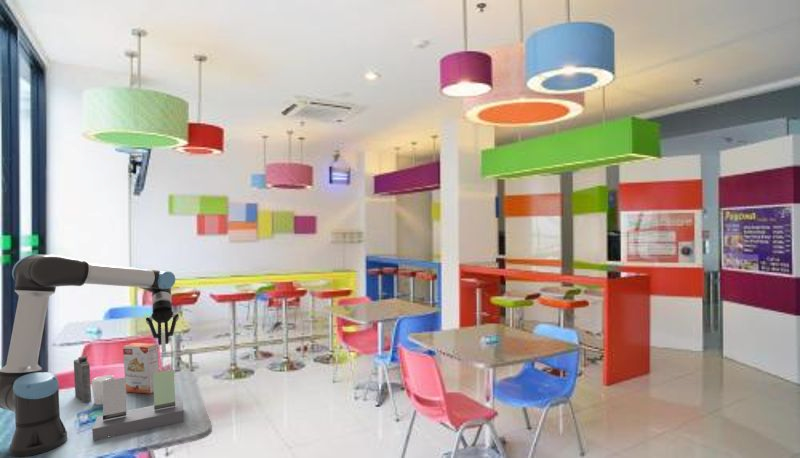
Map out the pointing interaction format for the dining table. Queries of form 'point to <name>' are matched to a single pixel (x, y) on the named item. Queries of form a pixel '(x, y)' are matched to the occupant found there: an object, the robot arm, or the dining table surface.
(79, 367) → the flask
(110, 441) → the dining table surface
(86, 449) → the dining table surface
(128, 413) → the panel
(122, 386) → the light grey rectangular slab
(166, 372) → the pale green flat slab
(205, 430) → the dining table surface
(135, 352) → the cracker box
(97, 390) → the white cup
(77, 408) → the dining table surface
